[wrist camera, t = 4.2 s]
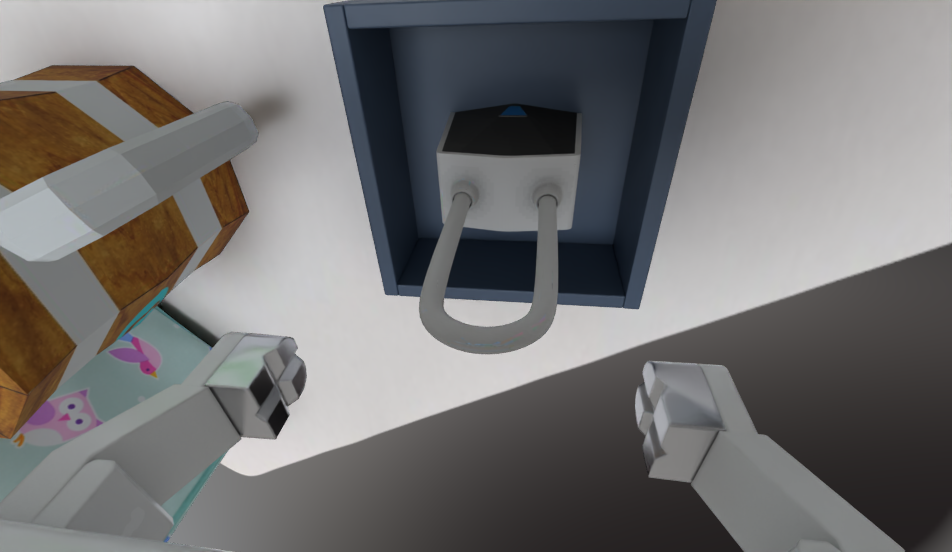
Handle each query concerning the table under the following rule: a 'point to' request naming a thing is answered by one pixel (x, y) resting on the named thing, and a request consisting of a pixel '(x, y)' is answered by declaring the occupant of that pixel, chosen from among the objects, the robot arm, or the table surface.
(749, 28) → the table surface
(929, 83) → the table surface
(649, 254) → the basket
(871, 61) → the table surface
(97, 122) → the mug
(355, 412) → the table surface
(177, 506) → the lunch box
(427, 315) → the padlock
